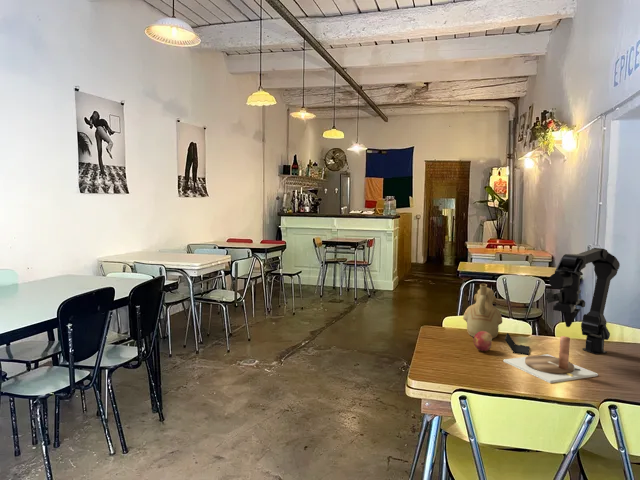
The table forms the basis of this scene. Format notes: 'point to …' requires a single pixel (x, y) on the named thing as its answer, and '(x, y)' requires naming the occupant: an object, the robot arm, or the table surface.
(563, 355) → the dial
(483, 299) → the ceramic vessel
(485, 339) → the fruit
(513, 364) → the dial plate
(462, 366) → the table surface
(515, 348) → the handheld gaming console
